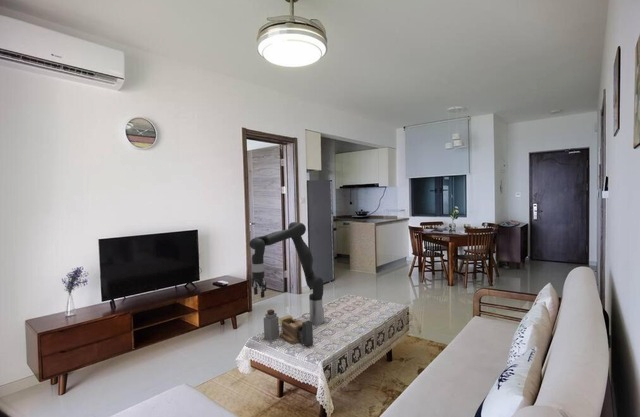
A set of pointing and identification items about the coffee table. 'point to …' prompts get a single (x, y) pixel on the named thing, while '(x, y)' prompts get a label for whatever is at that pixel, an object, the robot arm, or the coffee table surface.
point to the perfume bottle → (271, 325)
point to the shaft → (305, 333)
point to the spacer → (286, 319)
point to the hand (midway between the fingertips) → (259, 295)
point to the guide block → (291, 331)
